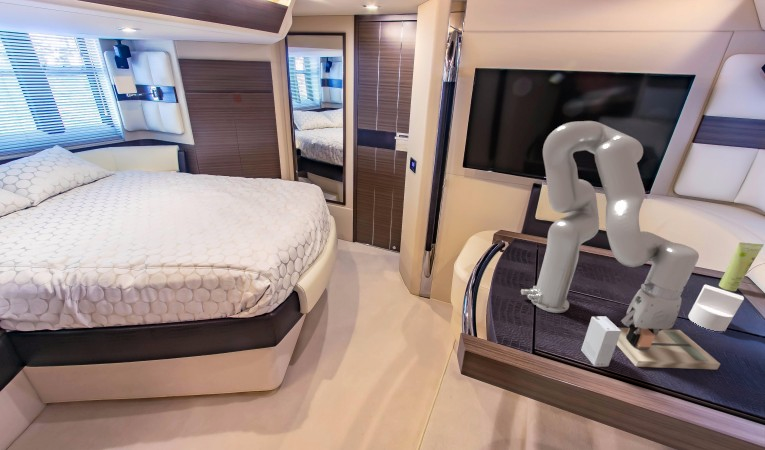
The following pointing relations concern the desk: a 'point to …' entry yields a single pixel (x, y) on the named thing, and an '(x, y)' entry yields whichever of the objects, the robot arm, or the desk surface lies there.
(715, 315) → the cylinder with rectangular tab
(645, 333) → the fader tab
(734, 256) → the tube
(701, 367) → the fader board
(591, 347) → the skincare box
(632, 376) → the desk surface
